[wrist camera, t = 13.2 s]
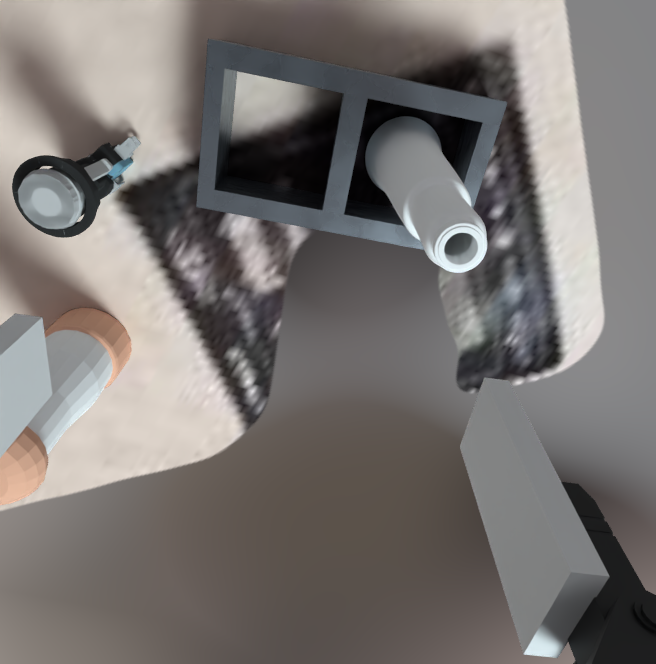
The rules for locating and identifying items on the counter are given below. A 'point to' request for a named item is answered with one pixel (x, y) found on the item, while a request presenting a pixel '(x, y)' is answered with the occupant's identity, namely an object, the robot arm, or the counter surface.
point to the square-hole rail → (357, 88)
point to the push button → (69, 187)
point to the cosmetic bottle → (426, 192)
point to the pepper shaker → (65, 392)
